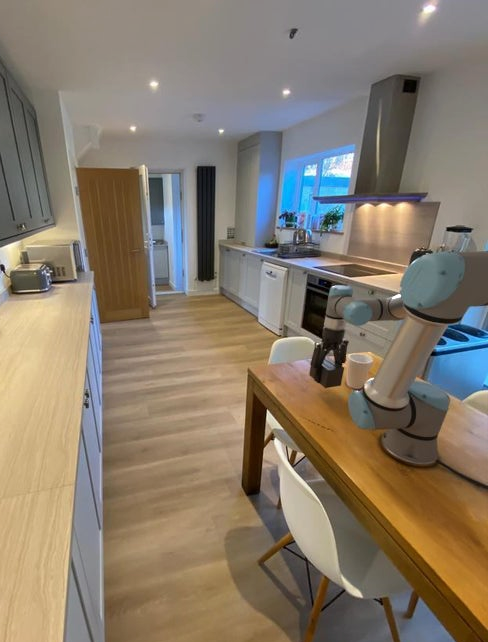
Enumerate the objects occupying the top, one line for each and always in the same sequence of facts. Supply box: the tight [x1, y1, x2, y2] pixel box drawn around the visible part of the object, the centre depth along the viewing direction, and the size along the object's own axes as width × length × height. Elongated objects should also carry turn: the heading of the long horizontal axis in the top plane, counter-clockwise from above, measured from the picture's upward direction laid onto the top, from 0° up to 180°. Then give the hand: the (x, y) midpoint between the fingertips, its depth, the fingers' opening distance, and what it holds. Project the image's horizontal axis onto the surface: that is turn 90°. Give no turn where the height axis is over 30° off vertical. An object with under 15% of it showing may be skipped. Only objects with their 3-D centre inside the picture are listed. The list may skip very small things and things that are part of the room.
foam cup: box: [346, 353, 374, 390], centre depth 138 cm, size 10×9×13 cm
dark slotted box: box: [308, 355, 345, 389], centre depth 130 cm, size 12×7×8 cm, turn 14°
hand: (325, 380), depth 131 cm, fingers closed on dark slotted box, 7 cm apart
